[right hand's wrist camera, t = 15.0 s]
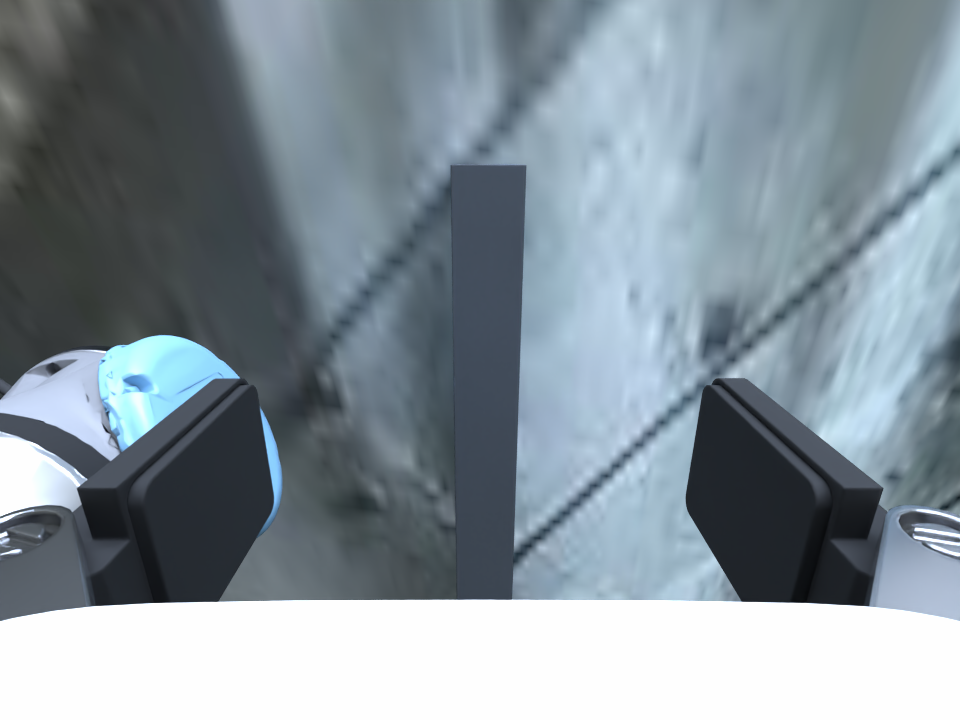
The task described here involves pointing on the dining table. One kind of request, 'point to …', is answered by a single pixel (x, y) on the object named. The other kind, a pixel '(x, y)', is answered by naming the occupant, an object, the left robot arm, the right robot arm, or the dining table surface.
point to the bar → (486, 370)
